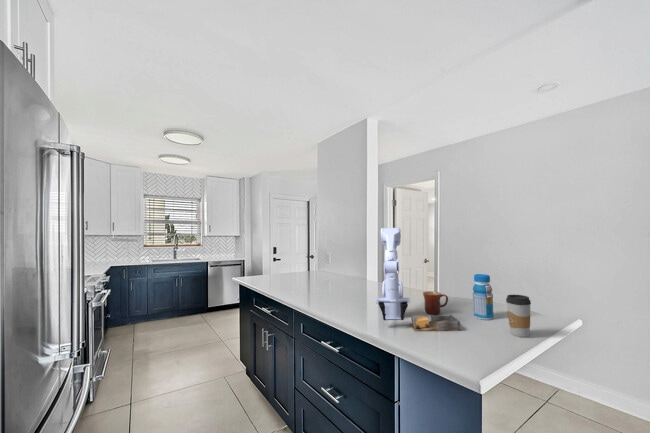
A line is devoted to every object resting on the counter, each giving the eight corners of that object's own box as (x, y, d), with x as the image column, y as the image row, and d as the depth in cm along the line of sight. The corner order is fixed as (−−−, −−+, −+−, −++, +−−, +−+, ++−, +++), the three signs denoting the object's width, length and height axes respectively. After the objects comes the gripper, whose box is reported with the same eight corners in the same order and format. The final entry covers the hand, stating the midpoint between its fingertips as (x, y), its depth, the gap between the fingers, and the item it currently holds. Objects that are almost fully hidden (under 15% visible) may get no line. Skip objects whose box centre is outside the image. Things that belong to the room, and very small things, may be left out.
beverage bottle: (474, 319, 137) (472, 276, 138) (473, 314, 145) (471, 273, 146) (495, 321, 134) (493, 276, 135) (492, 315, 142) (490, 274, 143)
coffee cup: (502, 331, 120) (500, 294, 121) (522, 330, 121) (520, 293, 121) (517, 339, 112) (515, 299, 112) (538, 338, 113) (536, 298, 113)
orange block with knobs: (414, 328, 125) (413, 317, 125) (410, 324, 131) (410, 313, 132) (429, 328, 125) (429, 317, 125) (425, 324, 131) (425, 313, 131)
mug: (425, 316, 144) (424, 295, 144) (421, 311, 152) (420, 291, 153) (451, 316, 142) (450, 295, 143) (445, 311, 151) (444, 291, 152)
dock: (414, 333, 123) (413, 322, 123) (408, 325, 133) (408, 315, 133) (460, 333, 122) (460, 321, 123) (451, 325, 132) (451, 314, 132)
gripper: (376, 290, 126) (377, 322, 125) (411, 289, 125) (412, 322, 124) (374, 287, 133) (375, 317, 132) (407, 286, 132) (408, 317, 131)
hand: (393, 319), depth 129 cm, fingers open, 7 cm apart
